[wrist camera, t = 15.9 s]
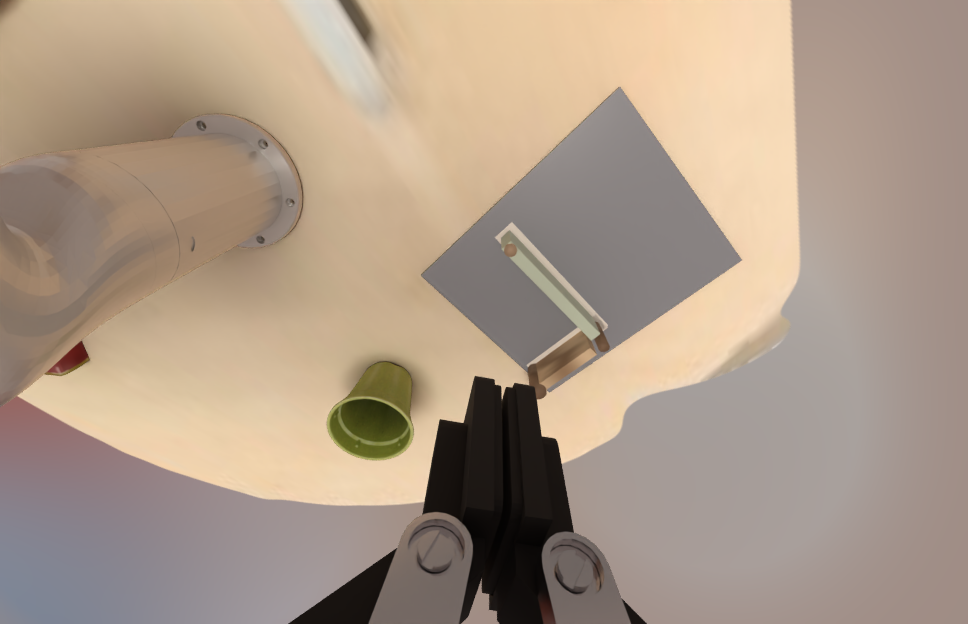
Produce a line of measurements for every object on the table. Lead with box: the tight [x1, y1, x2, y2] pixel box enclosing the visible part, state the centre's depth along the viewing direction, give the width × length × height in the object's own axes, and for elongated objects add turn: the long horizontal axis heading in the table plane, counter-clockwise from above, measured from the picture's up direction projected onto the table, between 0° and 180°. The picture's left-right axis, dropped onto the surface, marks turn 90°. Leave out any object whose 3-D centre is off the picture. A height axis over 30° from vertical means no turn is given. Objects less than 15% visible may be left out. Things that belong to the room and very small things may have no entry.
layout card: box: [421, 87, 742, 392], centre depth 43 cm, size 26×22×1 cm
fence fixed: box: [528, 322, 610, 399], centre depth 46 cm, size 10×2×5 cm, turn 134°
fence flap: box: [501, 230, 600, 341], centre depth 41 cm, size 14×1×4 cm, turn 44°
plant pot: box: [327, 362, 414, 460], centre depth 47 cm, size 9×9×9 cm
